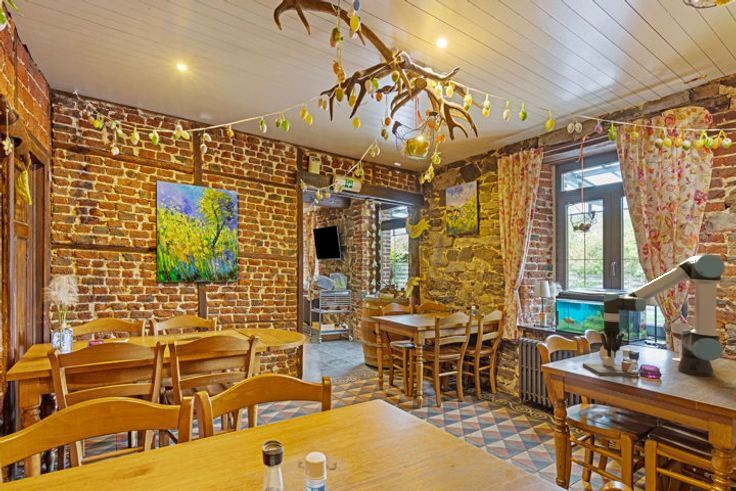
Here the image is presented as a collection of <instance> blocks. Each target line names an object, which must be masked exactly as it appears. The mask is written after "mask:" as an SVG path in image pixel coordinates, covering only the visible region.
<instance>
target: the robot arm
mask: <svg viewBox="0 0 736 491" xmlns="http://www.w3.org/2000/svg"><path fill="white" fill-rule="evenodd" d="M725 266H726V265H725V262H724V261H723V259H722V258H720V257H719V256H717V255H713V254H709V253H707V254H706V253H705V254H700V253H699V254H695V255H692V256H690V257H689V258H686V259H685V260H684V261H682V262H681V263H679V264H677V265H676V266H675V268H673V269H672V270H671V271H668V272H667V273H664V274H663V275H661V276H659V277H657V278H655V279H653V280H652V281H650V282H648V283H646V284H644V285H642V286H641V287H639V288H637V289H635V290H632V292H629V293H628V294H624V295H622V296H620V294H619V293H618V292H617V293H616V292H605V293H604V295H603V329H602V331H601V332H598V335H599V337H600V339H601V344H602V346H603V348H604V349H605V350H607V356H608V357H609V358H612V364H615V359H614V357H615V358H616V357H617V356H616V355H617V354H616V353H617V352H618V351H620V350H621V345H622V342H623V338H624V337H625V333H623V332H621V331H620V311H622V312H623V311H624V312H637V313H639V312H640V313H643V312H645V311H646V308H647V306H646V303H647V302H646V301H647V300H648V301H649V300H650V299H652V298H654V297H656V296H657V295H659V294H662V293H663V292H664V291H667V290H669V289H671V288H672V287H675V286H677V285H679V284H681V283H682V282H684V281H693V282H694V314H693V317H694V318H693V322H694V323H693V324H694V325H693V329H689V330H683V331H682V334H681V336H682V339H681V360H680V361H679V363H678V365H677V370H678V371H679V372H681V373H682V374H686V375H687V374H688V375H692V376H697V377H714V376H715V374H714V373H715V372H714V371H715V370H714V369H713V366H712V364H711V361H716V360H718V359H719V358H720V357H721V356H722V355H723V352H724V348H723V345H722V344H721V342H720V337H721V334H720V333H719V332H718V331H717V299H718V298H717V294H718V292H717V290H718V288H717V287H718V284H719V283H720V282H722V275H723V273H724V272H725V268H726V267H725ZM611 350H612V351H611Z"/></svg>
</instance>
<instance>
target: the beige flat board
mask: <svg viewBox="0 0 736 491" xmlns="http://www.w3.org/2000/svg"><path fill="white" fill-rule="evenodd" d="M582 367H583V368H584V369H586V370H588V371H590V372H592V373H594V374H595V375H597V376H599V377H621V378H622V377H623V378H624V377H625V378H626V377H627V378H630V377H629V376H631V375H634V374H637V373H638V372H637V373H634V374H633V373H630V372H627V371H625V370H623V369H622V365H621V364H620V363H614V364H613V363H612V366H606V365H604V364H603V362H602V363H601V362H600V363H598V362H596V363H594V362H593V363H592V362H582Z"/></svg>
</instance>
